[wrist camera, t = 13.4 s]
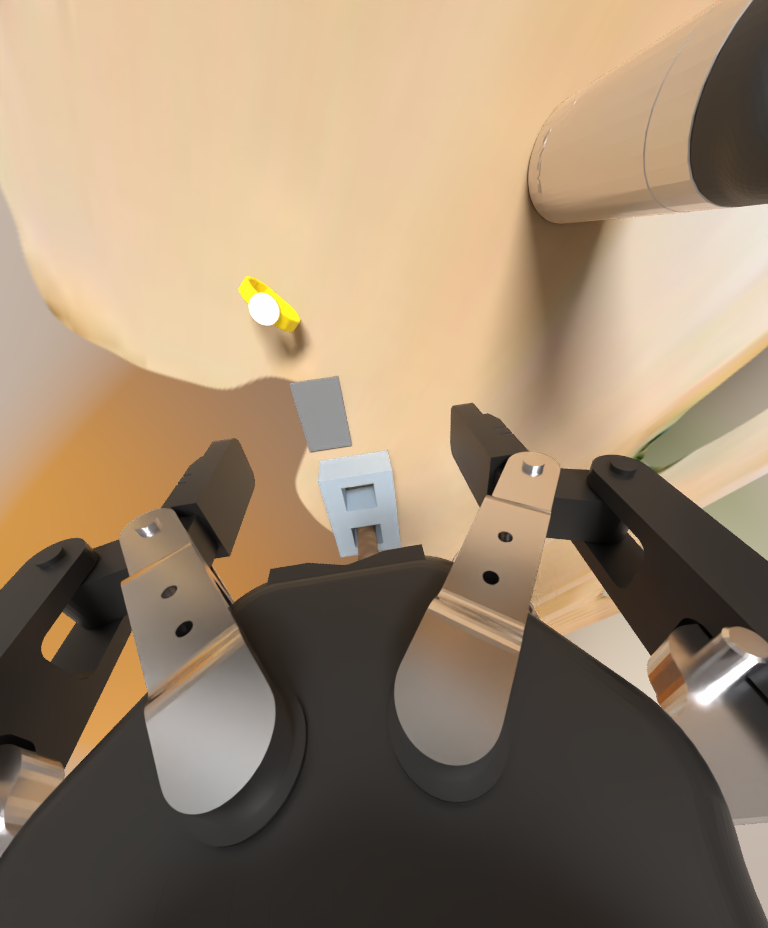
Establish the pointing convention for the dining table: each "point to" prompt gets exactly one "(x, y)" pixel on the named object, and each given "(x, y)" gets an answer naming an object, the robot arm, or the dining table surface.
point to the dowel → (366, 541)
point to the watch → (268, 305)
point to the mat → (322, 413)
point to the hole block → (360, 499)
